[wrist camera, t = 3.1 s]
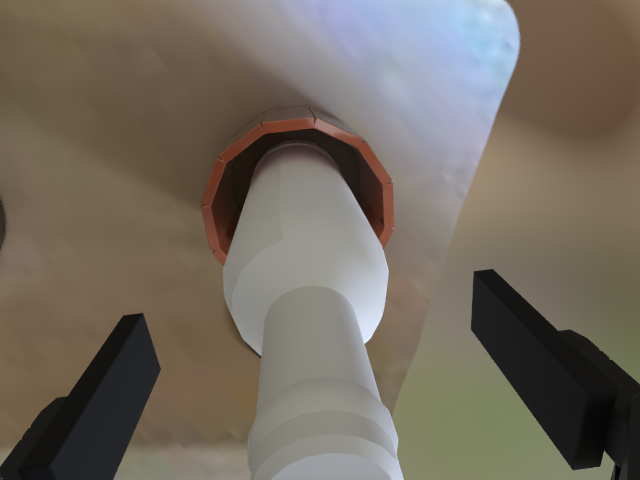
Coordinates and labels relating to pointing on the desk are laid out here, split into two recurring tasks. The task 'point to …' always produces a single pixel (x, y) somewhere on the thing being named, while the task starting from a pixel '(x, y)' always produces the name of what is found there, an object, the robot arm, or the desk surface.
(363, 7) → the desk surface
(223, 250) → the reddish brown pot
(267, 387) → the bottle
